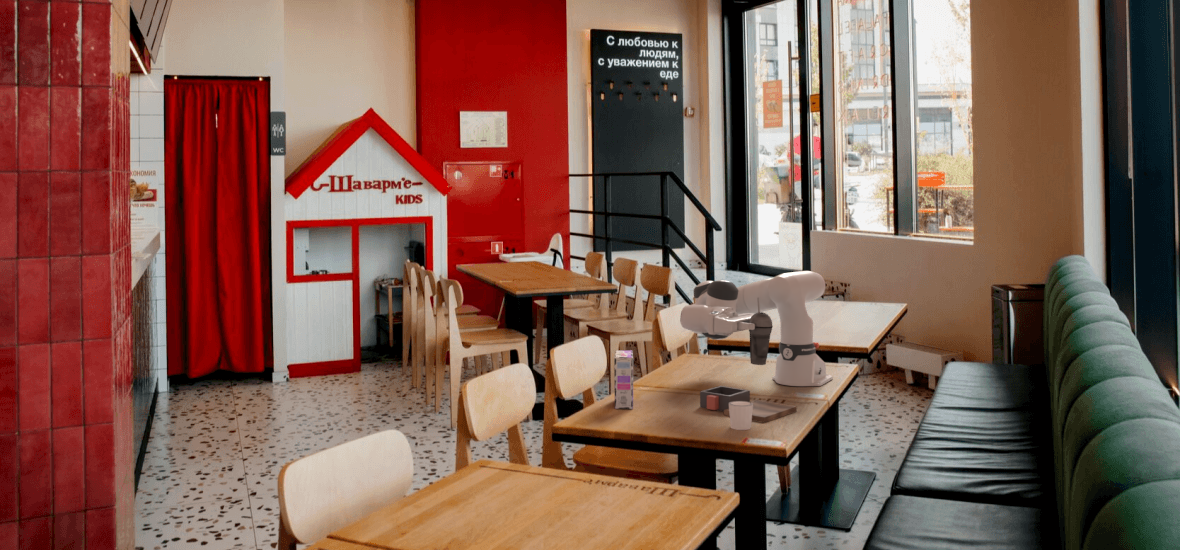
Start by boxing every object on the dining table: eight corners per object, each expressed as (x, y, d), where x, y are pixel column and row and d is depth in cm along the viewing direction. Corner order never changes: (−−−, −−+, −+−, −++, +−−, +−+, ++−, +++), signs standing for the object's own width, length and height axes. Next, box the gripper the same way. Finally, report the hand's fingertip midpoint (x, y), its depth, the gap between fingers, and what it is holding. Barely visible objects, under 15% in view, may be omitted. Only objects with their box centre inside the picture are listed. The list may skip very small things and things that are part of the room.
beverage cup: (770, 366, 269) (774, 300, 267) (745, 365, 271) (749, 298, 268) (770, 361, 276) (774, 296, 274) (746, 359, 278) (749, 295, 275)
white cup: (740, 431, 253) (741, 407, 252) (723, 427, 258) (723, 402, 258) (758, 427, 257) (758, 403, 256) (740, 423, 262) (740, 399, 262)
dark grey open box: (720, 401, 291) (720, 385, 290) (749, 406, 283) (749, 390, 283) (696, 408, 281) (696, 392, 281) (725, 413, 274) (725, 397, 273)
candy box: (633, 409, 281) (632, 357, 279) (614, 409, 281) (613, 357, 280) (633, 399, 295) (633, 349, 293) (615, 399, 295) (615, 349, 294)
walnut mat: (757, 404, 285) (757, 399, 285) (796, 411, 276) (796, 406, 276) (724, 414, 272) (724, 410, 272) (764, 422, 263) (764, 417, 263)
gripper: (743, 327, 289) (781, 331, 279) (705, 335, 274) (743, 339, 264) (743, 307, 288) (781, 311, 279) (705, 314, 273) (744, 318, 264)
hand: (763, 325), depth 271 cm, fingers closed on beverage cup, 7 cm apart
